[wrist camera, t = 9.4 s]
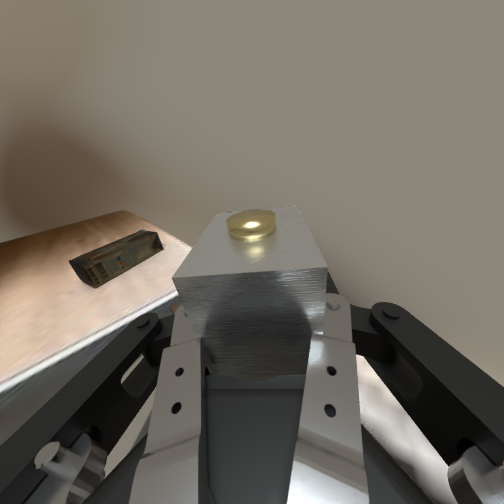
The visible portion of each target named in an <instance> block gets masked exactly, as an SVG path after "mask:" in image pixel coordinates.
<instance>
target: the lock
mask: <svg viewBox="0 0 504 504" xmlns="http://www.w3.org/2000/svg"><path fill="white" fill-rule="evenodd" d="M327 272H328V266H327V264H326V262H325V260H324V258H323V256H322V254H321V252H320V250H319V248H318V246H317V244H316V242H315V240H314V238H313V236H312V234H311V232H310V230H309V228H308V226H307V224H306V222H305V220H304V218H303V216H302V214H301V212H300V210H299V208H298V206H297V205H291V206H283V207H273V208H264V209H254V210H245V211H236V212H228V213H218V214H216V215H215V217H214V218H213V220H212V221H211V222H210V224H209V225H208V227H207V228H206V230H205V231H204V233H203V234H202V235H201V237H200V238H199V240H198V241H197V242H196V244H195V245H194V247H193V248H192V250H191V251H190V253H189V254H188V255H187V257H186V258H185V260H184V261H183V263H182V264H181V265H180V267H179V268H178V270H177V271H176V273H175V274H174V275H173V277H172V280H173V282H174V284H175V287H176V289H177V292H178V294H179V296H180V299H181V301H182V304H183V306H184V309H185V311H186V313H187V316H188V318H189V321H190V323H191V325H192V328H193V330H194V333H195V335H196V337H204V339H205V342H206V345H207V349H208V353H209V356H210V359H211V361H212V364H213V366H214V368H216V370H217V373H218V375H231V376H234V377H237V378H241V379H244V380H248V381H251V382H260V381H263V380H266V379H270V378H273V377H277V376H280V375H306V373H307V366H308V359H309V352H310V344H311V337H312V333H315V334H323V327H324V313H325V300H326V286H327Z"/></svg>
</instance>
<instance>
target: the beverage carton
mask: <svg viewBox="0 0 504 504" xmlns="http://www.w3.org/2000/svg"><path fill="white" fill-rule="evenodd" d="M162 250H163V247H162V244H161V241H160V239H159V236H158V234H157V232H151V231H145V230H140V231H138V232H136V233H134V234H132V235H129V236H126V237H124V238H121V239H119V240H117V241H114V242H112V243H110V244H107V245H105V246H103V247H100V248H98V249H95V250H93V251H91V252H88V253H85V254H83V255H81V256H79V257H76V258H74V259H72V260H69V263H70V265H71V266H72V268H73V270H74V271H75V273H76V274H77V275H78V277H79V278H80V279H81V280H82V281H83V282H85V283H87V284H88V285H90V286H92V287H94V288H97V287H99V286H101V285H103V284H104V283H106V282H108V281H110V280H111V279H113V278H115V277H117V276H118V275H120V274H122V273H124V272H125V271H127V270H129V269H131V268H132V267H134V266H136V265H138V264H139V263H141V262H143V261H145V260H146V259H148V258H150V257H152V256H153V255H155V254H157V253H158V252H160V251H162Z"/></svg>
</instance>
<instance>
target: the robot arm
mask: <svg viewBox="0 0 504 504" xmlns="http://www.w3.org/2000/svg"><path fill="white" fill-rule="evenodd" d="M141 353H142V354H143V356H144V358H143V359H142V360H141V361H140V363H139V364H138V365H137V366H136V367H135V368H134V370H133V371H132V372H131V373H130V374H129V376H128V377H127V378H126V379H125V381H124V382H123V383H122V384H121V378H122V376H123V374H124V373H125V372H126V370H127V369H128V368H129V367H130V366H131V365H132V363H133V362H134V361H135V360H136V359H137V358H138V357H139V355H140V354H141ZM356 354H357V355H361V356H364V358H365V359H366V360H367V362H368V363H369V364H370V366H371V367H372V368H373V370H374V371H375V372H376V373H377V375H378V376H379V377H380V379H381V380H382V381H383V382H384V384H385V385H386V386H387V388H388V389H389V390H390V392H391V393H392V394H393V395H394V397H395V398H396V399H397V401H398V402H399V403H400V404H401V406H402V407H403V408H404V410H405V411H406V412H407V413H408V415H409V416H410V417H411V419H412V420H413V421H414V423H415V424H416V425H417V426H418V428H419V429H420V430H421V432H422V433H423V434H424V435H425V437H426V438H427V439H428V441H429V442H430V443H431V444H432V446H433V447H434V448H435V450H436V451H437V452H438V454H439V455H440V456H441V457H442V459H443V460H444V461H445V463H446V464H447V465H448V466H449V468H448V474H447V475H448V482H449V486H450V488H451V491H452V493H453V495H454V497H455V499H456V501H457V502H458V504H504V387H503V386H501V385H500V384H499V383H498V382H496V381H495V380H494V379H492V378H491V377H490V376H489V375H488V374H486V373H485V372H483V371H482V370H481V369H480V368H479V367H477V366H476V365H475V364H474V363H472V362H471V361H470V360H469V359H467V358H466V357H465V356H463V355H462V354H461V353H460V352H458V351H457V350H456V349H454V348H453V347H452V346H451V345H449V344H448V343H447V342H446V341H444V340H443V339H442V338H441V337H439V336H438V335H437V334H436V333H434V332H433V331H432V330H430V329H429V328H428V327H427V326H425V325H424V324H423V323H421V322H420V321H419V320H418V319H416V318H415V317H414V316H413V315H411V314H410V313H409V312H408V311H406V310H405V309H404V308H402V307H400V306H398V305H396V304H393V303H388V302H380V303H376V304H375V305H373V306H372V309H366V308H361V307H356V306H353V305H351V304H349V302H348V300H347V299H346V298H344V297H343V296H340V295H339V293H338V291H337V288H336V286H335V285H334V282H333V280H332V278H331V276H330V274H329V272H327V286H326V300H325V313H324V327H323V334H315V333H312V337H311V344H310V352H309V359H308V366H307V373H306V375H280V376H277V377H273V378H270V379H266V380H263V381H260V382H251V381H248V380H244V379H241V378H237V377H234V376H231V375H218V373H217V370H216V368H214V366H213V364H212V361H211V359H210V356H209V353H208V349H207V345H206V342H205V339H204V337H196V335H195V333H194V330H193V328H192V325H191V323H190V321H189V318H188V316H187V313H186V311H185V309H184V306H183V304H182V305H181V306H180V307H179V308H178V309H177V310H176V312H175V314H174V315H171V316H168V317H165V318H161V319H159V317H158V315H157V314H156V313H146V314H143V315H141V316H139V317H138V318H136V319H135V320H134V321H133V322H131V323H130V324H129V325H128V326H127V327H126V328H125V329H124V330H123V331H122V332H121V333H120V334H119V335H118V336H117V337H116V338H115V339H113V340H112V341H111V342H110V343H109V344H108V345H107V346H106V347H105V348H104V349H103V350H102V351H101V352H100V353H99V354H98V355H97V356H95V357H94V358H93V359H92V360H91V361H90V362H89V363H88V364H87V365H86V366H85V367H84V368H83V369H82V370H81V371H80V372H79V373H78V374H76V375H75V376H74V377H73V378H72V379H71V380H70V381H69V382H68V383H67V384H66V385H65V386H64V387H63V388H62V389H61V390H60V391H58V392H57V393H56V394H55V395H54V396H53V397H52V398H51V399H50V400H49V401H48V402H47V403H46V404H45V405H44V406H43V407H42V408H40V409H39V410H38V411H37V412H36V413H35V414H34V415H33V416H32V417H31V418H30V419H29V420H28V421H27V422H26V423H25V424H24V425H22V426H21V427H20V428H19V429H18V430H17V431H16V432H15V433H14V434H13V435H12V436H11V437H10V438H9V439H8V440H7V441H6V442H5V443H3V444H2V445H1V446H0V504H435V502H434V501H433V500H432V499H431V498H430V497H429V496H428V495H427V494H426V493H425V492H424V491H423V490H422V488H421V487H420V486H419V485H418V484H417V483H416V482H415V481H414V480H413V479H412V478H411V477H410V476H409V474H408V473H407V472H406V471H405V470H404V469H403V468H402V467H401V466H400V465H399V464H398V463H397V462H396V460H395V459H394V458H393V457H392V456H391V455H390V454H389V453H388V452H387V451H386V450H385V449H384V448H383V446H382V445H381V444H380V443H379V442H378V441H377V440H376V439H375V438H374V437H373V436H372V435H371V434H370V432H369V431H368V430H367V429H366V428H365V427H364V426H363V425H362V424H361V420H360V406H359V391H358V377H357V363H356ZM155 387H156V392H155V398H154V403H153V409H152V414H151V420H150V425H149V431H148V433H147V434H146V435H145V436H144V437H143V438H142V439H141V441H140V442H139V443H138V444H137V445H136V446H135V447H134V448H133V449H132V450H131V451H130V452H129V453H128V454H127V456H126V457H125V458H124V459H123V460H122V461H121V462H120V463H119V464H118V465H117V466H116V467H115V468H114V469H113V470H112V472H111V473H110V474H109V475H108V476H107V477H106V478H105V471H104V468H105V465H106V461H107V456H108V455H109V454H110V452H111V451H112V449H113V448H114V446H115V445H116V443H117V442H118V441H119V439H120V438H121V436H122V435H123V433H124V432H125V431H126V429H127V428H128V426H129V425H130V423H131V422H132V420H133V419H134V418H135V416H136V415H137V413H138V412H139V410H140V409H141V407H142V406H143V404H144V403H145V402H146V400H147V399H148V397H149V396H150V395H151V393H152V392H153V390H154V389H155ZM104 478H105V479H104Z"/></svg>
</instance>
